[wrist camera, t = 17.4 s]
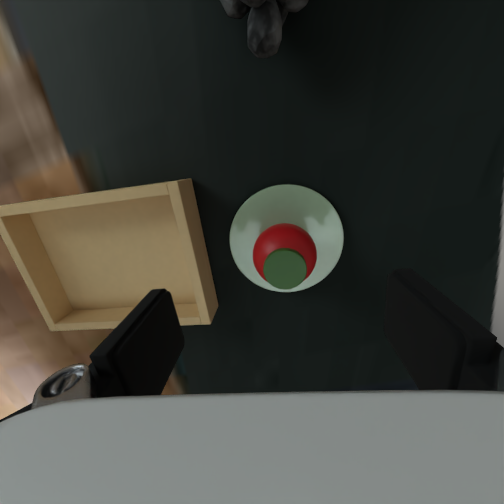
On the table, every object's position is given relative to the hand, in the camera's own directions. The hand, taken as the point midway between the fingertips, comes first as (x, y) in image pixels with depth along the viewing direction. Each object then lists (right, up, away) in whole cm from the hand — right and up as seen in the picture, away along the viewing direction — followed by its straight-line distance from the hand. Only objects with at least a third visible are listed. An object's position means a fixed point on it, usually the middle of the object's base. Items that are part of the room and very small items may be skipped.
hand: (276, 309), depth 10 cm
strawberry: (+1, +3, +9) cm, 9 cm away
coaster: (+2, +3, +9) cm, 10 cm away
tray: (-13, +2, +11) cm, 17 cm away
